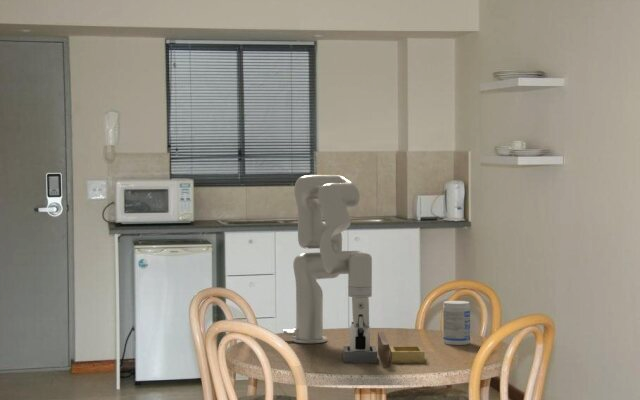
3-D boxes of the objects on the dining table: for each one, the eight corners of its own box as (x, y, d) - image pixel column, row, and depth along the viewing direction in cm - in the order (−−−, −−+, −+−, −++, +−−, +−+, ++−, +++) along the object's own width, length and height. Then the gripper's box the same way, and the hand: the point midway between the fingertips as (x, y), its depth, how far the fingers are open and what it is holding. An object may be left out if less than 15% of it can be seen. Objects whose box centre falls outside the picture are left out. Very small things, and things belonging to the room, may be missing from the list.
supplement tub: (471, 346, 338) (471, 303, 338) (443, 345, 339) (443, 303, 338) (468, 341, 348) (468, 300, 347) (442, 340, 348) (442, 300, 348)
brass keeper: (391, 362, 308) (391, 351, 308) (389, 356, 318) (389, 345, 318) (424, 362, 308) (424, 351, 308) (420, 356, 318) (420, 345, 318)
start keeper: (344, 362, 308) (344, 351, 308) (343, 356, 318) (343, 346, 318) (377, 362, 308) (377, 351, 308) (375, 356, 318) (375, 346, 318)
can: (368, 361, 309) (368, 324, 309) (348, 361, 311) (348, 323, 310) (371, 358, 316) (371, 321, 315) (351, 357, 317) (351, 320, 317)
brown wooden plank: (382, 367, 301) (382, 344, 301) (377, 352, 325) (377, 331, 325) (389, 367, 301) (389, 344, 301) (383, 352, 325) (383, 331, 325)
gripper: (373, 295, 304) (373, 352, 304) (370, 288, 321) (370, 342, 322) (349, 295, 304) (349, 352, 304) (347, 288, 321) (347, 342, 322)
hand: (359, 346), depth 313 cm, fingers closed on can, 6 cm apart
